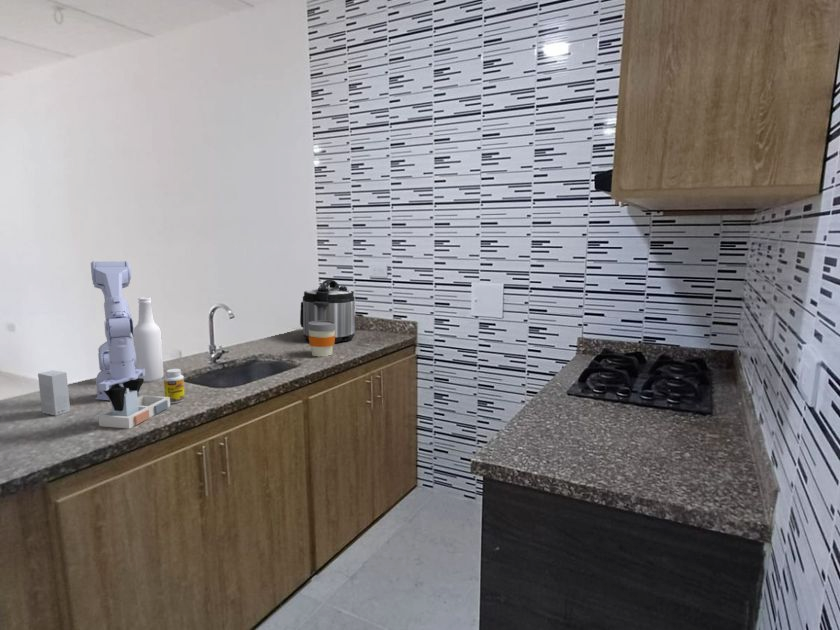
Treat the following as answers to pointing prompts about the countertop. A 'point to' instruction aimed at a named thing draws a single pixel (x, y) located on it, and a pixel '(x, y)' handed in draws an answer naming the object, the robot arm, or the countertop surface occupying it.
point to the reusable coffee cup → (321, 337)
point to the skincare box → (54, 392)
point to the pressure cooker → (329, 309)
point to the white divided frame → (146, 410)
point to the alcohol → (148, 343)
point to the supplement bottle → (174, 385)
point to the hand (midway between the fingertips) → (125, 407)
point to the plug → (128, 404)
